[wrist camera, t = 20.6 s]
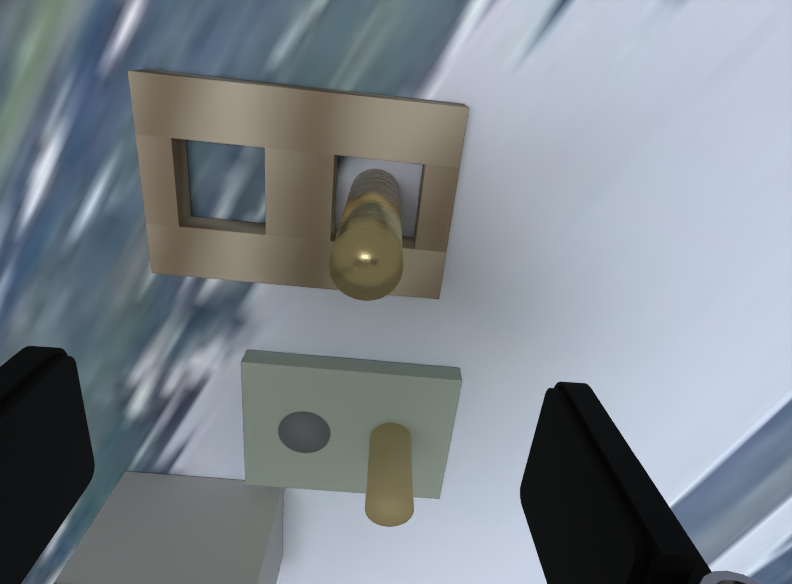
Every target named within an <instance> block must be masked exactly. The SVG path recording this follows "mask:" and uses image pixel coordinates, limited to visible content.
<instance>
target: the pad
mask: <svg viewBox="0 0 792 584" xmlns="http://www.w3.org/2000/svg"><path fill="white" fill-rule="evenodd" d="M241 379H242V405H243V431H244V458H245V484H246V485H259V486H272V487H286V488H299V489H312V490H326V491H339V492H353V493H366V503H365V512H366V515H367V517H368V518H369V519H370V520H371V521H372V522H374V523H376V524H378V525H381V526H387V527H392V526H398V525H401V524H403V523H405V522H407V521H408V520H409V519H410V518H411V517H412V515H413V512H414V503H413V497H420V498H433V499H439V498H440V493H441V488H442V483H443V478H444V472H445V467H446V462H447V457H448V452H449V446H450V441H451V436H452V431H453V426H454V420H455V415H456V410H457V405H458V400H459V394H460V389H461V384H462V377H461V372H460V368H452V367H441V366H429V365H417V364H406V363H394V362H382V361H371V360H359V359H347V358H336V357H324V356H312V355H301V354H289V353H278V352H266V351H254V350H247V351H246V353H245V355H244V357H243V359H242V361H241Z"/></svg>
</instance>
